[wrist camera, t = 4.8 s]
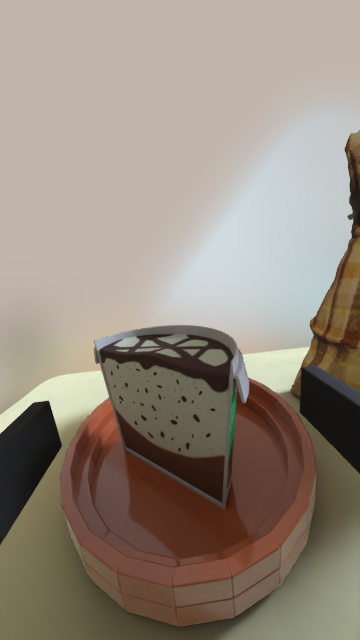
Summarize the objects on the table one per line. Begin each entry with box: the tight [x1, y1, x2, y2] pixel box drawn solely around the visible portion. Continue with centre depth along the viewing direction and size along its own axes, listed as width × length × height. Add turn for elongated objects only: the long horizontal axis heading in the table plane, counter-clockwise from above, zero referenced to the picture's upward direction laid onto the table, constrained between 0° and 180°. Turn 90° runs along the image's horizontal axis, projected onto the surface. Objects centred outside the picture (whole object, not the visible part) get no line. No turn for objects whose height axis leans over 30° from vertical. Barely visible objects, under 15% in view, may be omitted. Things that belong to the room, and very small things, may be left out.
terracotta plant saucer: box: [60, 378, 316, 627], centre depth 17 cm, size 18×18×3 cm
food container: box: [94, 325, 249, 510], centre depth 16 cm, size 12×6×10 cm, turn 56°
